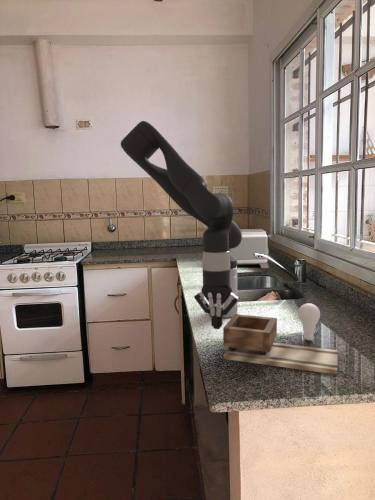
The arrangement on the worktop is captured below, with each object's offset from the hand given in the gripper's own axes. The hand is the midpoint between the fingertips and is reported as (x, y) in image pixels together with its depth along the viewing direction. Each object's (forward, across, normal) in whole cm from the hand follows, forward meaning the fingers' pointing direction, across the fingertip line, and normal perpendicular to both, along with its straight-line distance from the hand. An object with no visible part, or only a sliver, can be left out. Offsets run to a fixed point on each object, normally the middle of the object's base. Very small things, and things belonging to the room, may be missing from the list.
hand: (217, 328), depth 108 cm
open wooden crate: (+4, +10, 0) cm, 10 cm away
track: (+6, +18, 0) cm, 19 cm away
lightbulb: (+6, +23, +14) cm, 28 cm away
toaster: (+6, -22, +121) cm, 123 cm away
